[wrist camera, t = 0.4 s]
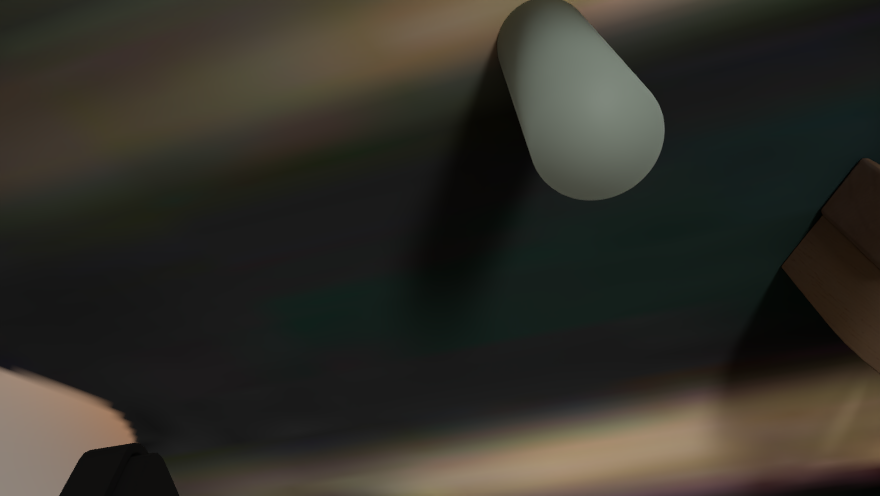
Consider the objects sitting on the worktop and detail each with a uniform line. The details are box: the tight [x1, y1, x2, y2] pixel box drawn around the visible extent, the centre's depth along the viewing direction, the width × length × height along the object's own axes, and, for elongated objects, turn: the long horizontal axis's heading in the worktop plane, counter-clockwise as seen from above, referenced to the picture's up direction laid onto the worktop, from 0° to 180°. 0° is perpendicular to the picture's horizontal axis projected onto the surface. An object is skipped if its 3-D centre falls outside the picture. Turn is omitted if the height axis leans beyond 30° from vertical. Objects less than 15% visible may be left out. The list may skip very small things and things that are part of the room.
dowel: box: [497, 0, 664, 200], centre depth 29 cm, size 4×4×12 cm
